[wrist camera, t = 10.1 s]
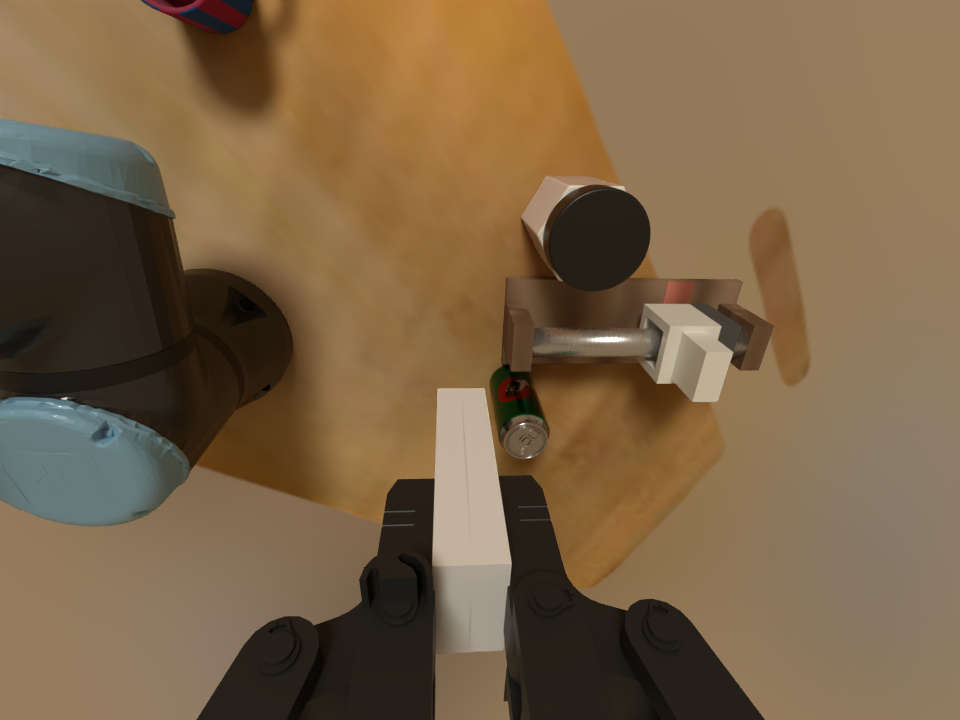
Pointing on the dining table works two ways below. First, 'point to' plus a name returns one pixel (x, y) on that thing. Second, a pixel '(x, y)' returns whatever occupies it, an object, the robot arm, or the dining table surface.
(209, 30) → the mug
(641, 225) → the jar
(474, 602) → the robot arm
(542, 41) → the dining table surface
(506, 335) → the stand
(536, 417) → the soda can
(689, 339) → the sleeve
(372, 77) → the dining table surface
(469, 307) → the dining table surface
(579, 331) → the pipe
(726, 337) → the dark grey square collar
